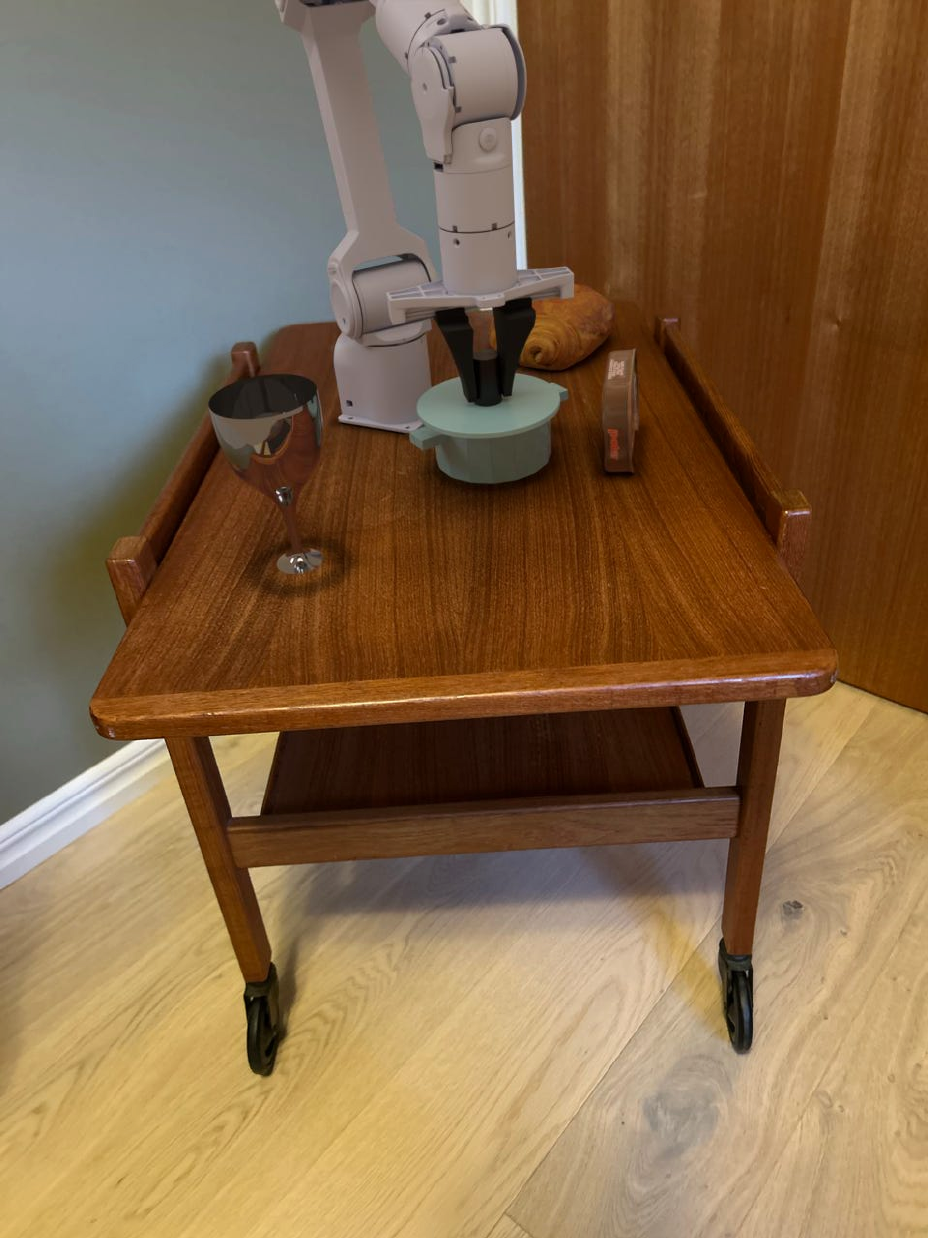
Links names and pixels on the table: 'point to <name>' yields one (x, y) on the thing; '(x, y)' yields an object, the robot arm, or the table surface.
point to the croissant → (565, 329)
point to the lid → (488, 403)
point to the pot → (490, 452)
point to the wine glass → (273, 446)
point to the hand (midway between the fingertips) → (487, 394)
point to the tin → (620, 409)
